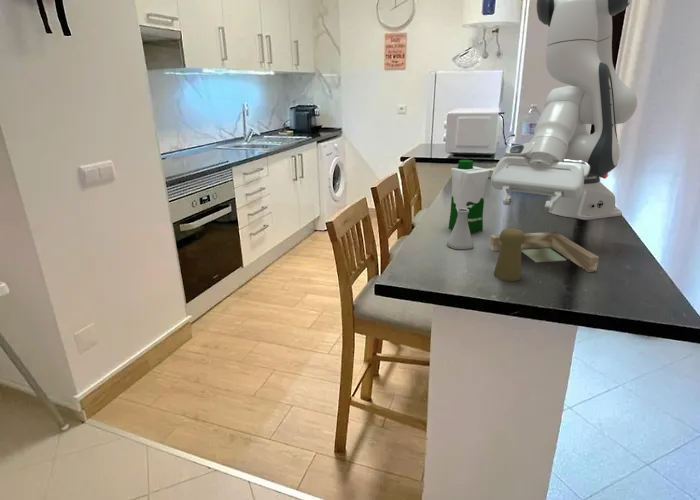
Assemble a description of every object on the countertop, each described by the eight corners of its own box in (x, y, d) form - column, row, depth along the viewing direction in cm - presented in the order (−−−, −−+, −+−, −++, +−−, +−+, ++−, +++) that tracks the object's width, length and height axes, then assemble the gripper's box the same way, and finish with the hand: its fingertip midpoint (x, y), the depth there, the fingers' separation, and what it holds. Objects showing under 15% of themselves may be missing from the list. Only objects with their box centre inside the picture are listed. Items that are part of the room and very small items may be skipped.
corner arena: (553, 244, 120) (555, 231, 119) (596, 271, 103) (598, 257, 102) (489, 247, 118) (490, 235, 117) (521, 276, 101) (524, 262, 100)
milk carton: (466, 223, 137) (472, 158, 130) (487, 231, 130) (494, 162, 122) (443, 228, 134) (448, 160, 126) (464, 236, 126) (470, 166, 119)
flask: (443, 241, 123) (445, 206, 119) (468, 240, 124) (472, 205, 120) (450, 251, 116) (453, 214, 113) (477, 250, 117) (481, 213, 113)
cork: (523, 282, 99) (530, 235, 95) (494, 280, 100) (500, 233, 96) (519, 270, 104) (525, 226, 100) (492, 269, 105) (497, 224, 101)
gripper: (592, 170, 103) (576, 221, 99) (504, 162, 115) (486, 207, 111) (592, 152, 98) (574, 205, 94) (500, 146, 110) (481, 193, 106)
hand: (526, 206), depth 103 cm, fingers open, 8 cm apart
